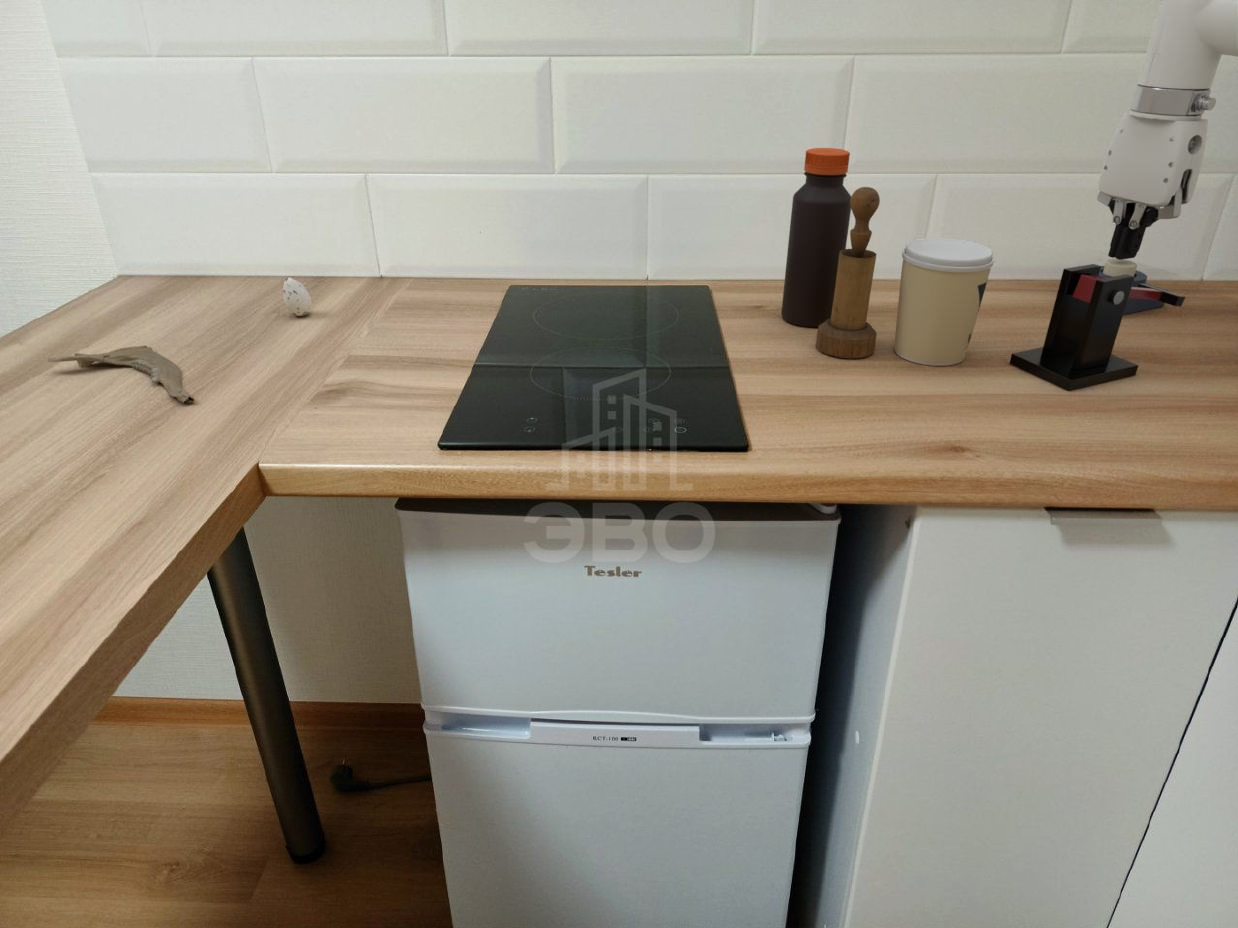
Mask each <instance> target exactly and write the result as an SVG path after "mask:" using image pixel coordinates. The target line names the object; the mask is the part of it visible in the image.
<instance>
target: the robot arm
mask: <svg viewBox="0 0 1238 928" xmlns="http://www.w3.org/2000/svg"><path fill="white" fill-rule="evenodd" d="M1148 41H1149V42H1148V45H1147V48H1146V52H1145V56H1144V59H1143V63H1142V65H1141V69H1140V73H1139V76H1138V80H1137V84H1136V87H1135V91H1134V95H1133V98H1132V101H1131V105H1130V109H1129V111H1125V112H1124V114H1123V116H1122V118H1121V120H1120V122H1119V123H1118V126H1117V128H1116V130H1115V132H1114V135H1113V137H1112V140H1111V142H1110V145H1109V147H1108V150H1107V153H1106V156H1105V159H1104V162H1103V165H1102V169H1101V172H1100V175H1099V179H1098V190H1099V193H1098V195H1097V197H1096V198H1097V201H1098V202H1099V203H1101V204H1102V205H1104V206H1106V207H1108V209H1109V210H1110V212H1111V214H1112V223H1113V225H1115V227H1114V231H1113V234H1112V237H1111V241H1110V244H1109V251H1108V254H1107V256H1108V257H1109V258H1111V259H1119V260H1128V259H1134V258H1136V256H1138V255H1137V254H1138V252H1139V251H1140V249H1141V245H1142V242H1143V239H1144V236H1145V233H1146V230H1147V228H1150V227H1152V226H1153V224H1154V223H1156V222H1158V221H1159V220H1171V219H1179V217H1180V216H1181V213H1182V205H1186V204H1188V203H1190V201H1191V200H1192V198H1193V197H1194V193H1195V190H1196V186H1197V183H1198V181H1199V175H1200V171H1201V167H1202V165H1203V159H1204V154H1205V150H1206V144H1207V137H1208V135H1207V134H1208V119H1206V118H1202V116H1203V115H1204V113H1205V111H1212V110H1213V109H1214V108H1215V107H1216V104H1217V99H1216V98H1214V97H1210V94H1211V92H1212V90H1211V88H1212V85H1213V83H1214V79H1215V76H1216V74H1217V70H1218V67H1219V65H1220V61H1221V57H1222V56H1232V57H1236V58H1237V57H1238V0H1161V1H1160V4H1159V6H1158V10H1157V14H1156V16H1155V20H1154V24H1153V26H1152V31H1151V34H1150V37H1149V40H1148Z"/></svg>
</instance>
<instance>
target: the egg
mask: <svg viewBox="0 0 1238 928" xmlns="http://www.w3.org/2000/svg"><path fill="white" fill-rule="evenodd" d="M282 297H283V302H284V306H285V308H286V309H287V311H289V313H291V314H292V315H293V316H298V317H303V316H306V315H308V314H309V313H310V311H311V309H312V304H313V303H312V298H311V295H310V294H309V291H308V290H307V288H306V287H305V286H304V285H303V284H302V283H301V282H300V281H298V280H295V279H294V278H292V277H290V276H289V277H286V278H285V280H284V281H283V287H282Z"/></svg>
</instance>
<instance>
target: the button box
mask: <svg viewBox="0 0 1238 928" xmlns="http://www.w3.org/2000/svg"><path fill="white" fill-rule="evenodd" d="M1100 266H1101V269H1100V272H1099V277H1102V278H1109V277H1112V276H1108V275H1105V274H1103V270H1104V266H1105V265H1100ZM1147 279H1148V275H1147V274H1146V273H1144V272H1143V271H1139V270H1138V269H1136V271H1135V274H1134V281H1133V284H1132V287H1137V285H1138V284H1139V283H1140V284H1146V285H1149V286H1153V287H1156V288H1159V289H1162V290H1165V291H1168V292H1169V290H1168V289H1165V288H1161V287H1158V286H1156V285H1152V284H1149V283H1147ZM1164 306H1165V303H1164V302H1161V301H1158V300H1147V299H1134V298H1128V301H1127V304H1126V307H1125V310H1124V314H1123V316H1124V315H1129V314H1134V313H1138V312H1143V311H1148V310H1154V309H1159V308H1163V307H1164Z"/></svg>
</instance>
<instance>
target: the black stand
mask: <svg viewBox="0 0 1238 928" xmlns="http://www.w3.org/2000/svg"><path fill="white" fill-rule="evenodd" d="M1101 266H1102V265H1099V264H1095V263H1092V264H1084V265H1078V266H1071V267H1065V268H1063V269H1062V273H1061V278H1060V282H1059V284H1058V289H1057V293H1056V296H1055V299H1054V303H1053V309H1052V312H1051V316H1050V320H1049V323H1048V327H1047V331H1046V334H1045V339H1044V343H1043V346H1042V347H1037V348H1033V349H1028V350H1022V351H1017V352H1012V353H1011V355H1010V359H1009V365H1012V366H1014V367H1015V368H1019V369H1020V370H1023V371H1025V372H1027V373H1029V374H1031V375H1033V376H1035V377H1038V378H1039V379H1041V380H1044V381H1047V382H1048V383H1050V384H1052V385H1055V386H1057V387H1059V388H1061V389H1064V390H1065V391H1068V392H1069V391H1074V390H1079V389H1083V388H1086V387H1091V386H1095V385H1100V384H1103V383H1109V382H1112V381H1116V380H1121V379H1126V378H1131V377H1135V376H1136V375H1137V372H1138V369H1139V364H1137V363H1136V362H1132V361H1130V360H1127V359H1124V358H1122V357H1120V356H1117V355H1115V354H1112V353H1113V349H1114V347H1115V343H1116V340H1117V337H1118V334H1119V330H1120V327H1121V323H1122V320H1123V317H1124V315H1125V314H1124V310H1125V307H1126V304H1127V301H1128V297H1129V294H1130V291H1131V287H1132V284H1133V281H1134V276H1130V275H1127V274H1126V275H1120V276H1114V277H1109V278H1103V279H1097V280H1096V283H1095V286H1094V290H1093V293H1092V297H1091V300H1090V303H1088V302H1085V301H1082V300H1079V299H1077V298H1074V297H1072V296H1073V294H1074V291H1075V289H1076V286H1077V284H1078V281H1079V279H1080V276H1081V275H1091V276H1099V272H1100V269H1101ZM1123 314H1124V315H1123Z"/></svg>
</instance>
